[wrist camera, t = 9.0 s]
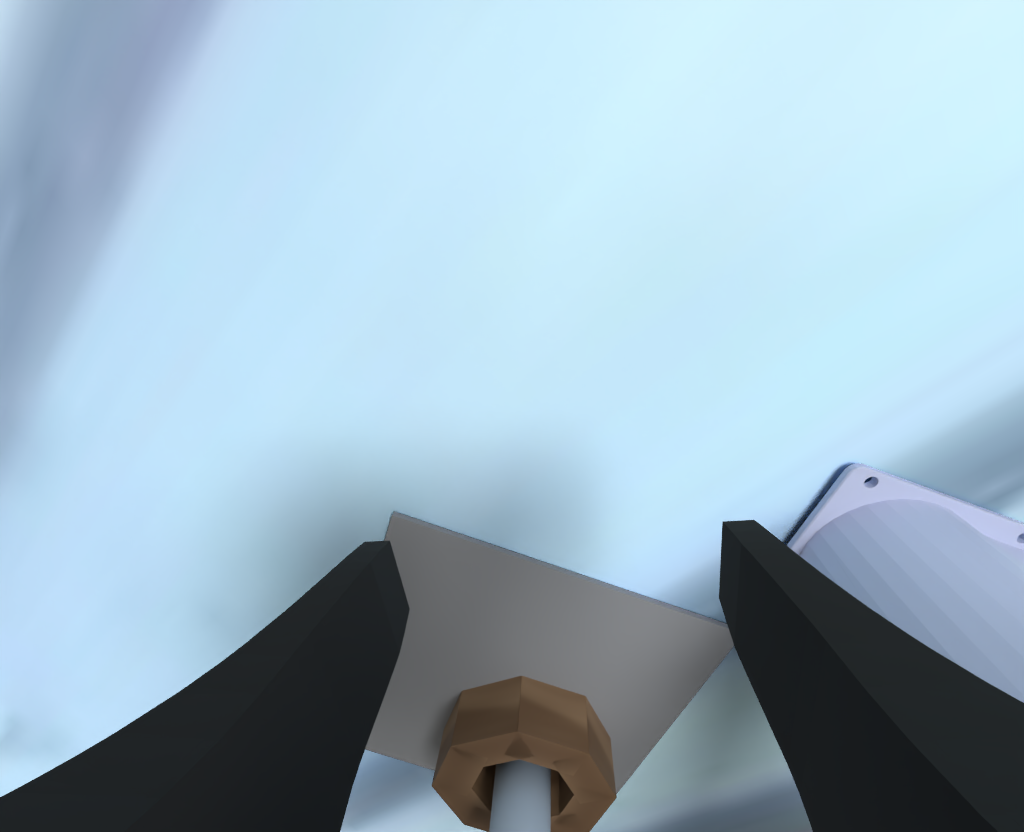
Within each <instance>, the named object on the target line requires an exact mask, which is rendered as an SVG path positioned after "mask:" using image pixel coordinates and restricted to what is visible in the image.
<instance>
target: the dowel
mask: <svg viewBox="0 0 1024 832" xmlns="http://www.w3.org/2000/svg"><path fill="white" fill-rule="evenodd" d="M489 832H551V769H549V768H546V767H543V766H539V765H536V764H533V763H530V762H527V761H523V760H520V759H519V760H514V761H510V762H505V763H500V764H496V770H495V779H494V789H493V799H492V809H491V818H490V828H489Z"/></svg>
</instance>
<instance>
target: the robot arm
mask: <svg viewBox="0 0 1024 832" xmlns="http://www.w3.org/2000/svg"><path fill="white" fill-rule="evenodd" d="M869 477H872V479H871V480H870V481H869V482H866V483H864V482H865V480H866V479H867V478H869ZM719 599H720V602H721V606H722V609H723V612H724V615H725V619H726V622H727V625H728V628H729V631H730V634H731V637H732V640H733V643H734V646H735V649H736V651H737V653H738V655H739V658H740V660H741V662H742V664H743V667H744V669H745V671H746V673H747V676H748V678H749V680H750V682H751V685H752V687H753V689H754V691H755V693H756V696H757V698H758V700H759V702H760V705H761V707H762V709H763V711H764V713H765V716H766V718H767V720H768V722H769V724H770V727H771V729H772V731H773V733H774V735H775V738H776V740H777V742H778V744H779V746H780V749H781V751H782V753H783V755H784V758H785V760H786V762H787V764H788V767H789V769H790V771H791V774H792V776H793V779H794V781H795V784H796V786H797V788H798V791H799V793H800V796H801V799H802V802H803V804H804V807H805V810H806V813H807V816H808V818H809V821H810V824H811V827H812V830H813V832H1024V523H1023V522H1020V521H1017V520H1015V519H1012V518H1009V517H1006V516H1004V515H1001V514H998V513H995V512H993V511H990V510H987V509H985V508H982V507H979V506H976V505H974V504H971V503H968V502H965V501H963V500H960V499H957V498H955V497H952V496H949V495H946V494H944V493H941V492H938V491H935V490H933V489H930V488H927V487H925V486H922V485H919V484H916V483H914V482H911V481H908V480H905V479H903V478H900V477H897V476H895V475H892V474H889V473H886V472H884V471H881V470H878V469H875V468H873V467H870V466H867V465H864V464H860V463H856V464H852V465H850V466H848V467H847V468H846V469H844V471H843V472H842V473H841V475H840V476H839V477H838V479H837V480H836V481H835V482H834V484H833V485H832V486H831V488H830V489H829V490H828V492H827V493H826V494H825V496H824V497H823V498H822V500H821V501H820V502H819V503H818V505H817V506H816V507H815V509H814V510H813V511H812V513H811V514H810V515H809V517H808V518H807V519H806V521H805V522H804V523H803V524H802V526H801V527H800V528H799V530H798V531H797V532H796V534H795V535H794V536H793V538H792V539H791V540H790V542H789V543H788V544H787V545H785V544H784V543H783V542H781V541H780V540H779V539H778V538H776V537H775V536H774V535H773V534H771V533H770V532H769V531H768V530H766V529H765V528H764V527H763V526H761V525H760V524H759V523H757V522H756V521H755V520H745V521H727V522H723V526H722V547H721V568H720V589H719ZM409 610H410V608H409V605H408V601H407V598H406V594H405V591H404V587H403V584H402V580H401V577H400V574H399V570H398V567H397V563H396V560H395V556H394V553H393V549H392V546H391V543H390V541H375V542H364V543H363V544H362V545H360V546H359V547H358V548H357V549H355V550H354V551H353V552H352V553H351V554H349V555H348V556H347V557H346V558H345V559H344V560H343V561H341V562H340V563H339V564H338V565H337V566H336V567H335V568H334V569H332V570H331V571H330V572H329V573H328V574H327V575H326V576H325V577H324V578H322V579H321V580H320V581H319V582H318V583H317V584H316V585H314V586H313V587H312V588H311V589H310V590H309V591H308V592H307V593H305V594H304V595H303V596H302V597H301V598H300V599H299V600H297V601H296V602H295V603H294V604H293V605H292V606H291V607H289V608H288V609H287V610H286V611H285V612H283V613H282V614H281V615H280V616H278V617H277V618H276V619H275V620H274V621H272V622H271V623H270V624H269V625H267V626H266V627H265V628H264V629H263V630H261V631H260V632H259V633H258V634H256V635H255V636H254V637H253V638H252V639H250V640H249V641H248V642H247V643H245V644H244V645H243V646H242V647H240V648H239V649H238V650H236V651H235V652H234V653H233V654H231V655H230V656H229V657H227V658H226V659H225V660H223V661H222V662H221V663H219V664H218V665H217V666H215V667H214V668H212V669H211V670H209V671H208V672H207V673H205V674H204V675H202V676H201V677H200V678H198V679H197V680H195V681H194V682H193V683H191V684H190V685H188V686H187V687H185V688H184V689H183V690H181V691H180V692H178V693H177V694H175V695H174V696H172V697H170V698H169V699H167V700H166V701H164V702H163V703H161V704H160V705H158V706H156V707H155V708H153V709H152V710H150V711H149V712H147V713H145V714H144V715H142V716H141V717H139V718H138V719H136V720H135V721H133V722H131V723H130V724H128V725H127V726H125V727H124V728H122V729H120V730H119V731H117V732H116V733H114V734H112V735H111V736H109V737H107V738H106V739H104V740H102V741H101V742H99V743H97V744H96V745H94V746H92V747H90V748H89V749H87V750H85V751H84V752H82V753H80V754H79V755H77V756H75V757H73V758H72V759H70V760H68V761H66V762H64V763H63V764H61V765H59V766H57V767H55V768H54V769H52V770H50V771H48V772H47V773H45V774H43V775H41V776H39V777H38V778H36V779H34V780H32V781H30V782H28V783H27V784H25V785H23V786H21V787H19V788H17V789H15V790H14V791H12V792H10V793H8V794H6V795H4V796H2V797H0V832H340V830H341V826H342V822H343V819H344V815H345V811H346V807H347V804H348V800H349V796H350V793H351V789H352V786H353V783H354V780H355V777H356V774H357V771H358V767H359V764H360V761H361V759H362V756H363V753H364V750H365V748H366V745H367V742H368V740H369V737H370V734H371V731H372V729H373V726H374V723H375V720H376V718H377V715H378V712H379V710H380V707H381V704H382V701H383V699H384V696H385V693H386V691H387V688H388V685H389V682H390V679H391V677H392V674H393V671H394V668H395V665H396V663H397V660H398V657H399V654H400V650H401V646H402V642H403V638H404V634H405V629H406V624H407V620H408V615H409Z"/></svg>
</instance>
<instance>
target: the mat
mask: <svg viewBox="0 0 1024 832" xmlns="http://www.w3.org/2000/svg"><path fill="white" fill-rule="evenodd" d="M384 541H390V543H391V546H392V549H393V553H394V556H395V560H396V563H397V567H398V570H399V574H400V577H401V580H402V584H403V587H404V591H405V594H406V598H407V601H408V605H409V608H410V610H409V615H408V620H407V624H406V629H405V634H404V638H403V642H402V646H401V650H400V654H399V657H398V660H397V663H396V665H395V668H394V671H393V674H392V677H391V679H390V682H389V685H388V688H387V691H386V693H385V696H384V699H383V701H382V704H381V707H380V710H379V712H378V715H377V718H376V720H375V723H374V726H373V729H372V731H371V734H370V737H369V740H368V742H367V745H366V748H365V749H366V750H369V751H372V752H376V753H379V754H382V755H385V756H389V757H392V758H395V759H399V760H402V761H405V762H408V763H412V764H415V765H418V766H421V767H425V768H428V769H431V770H435V768H436V764H437V759H438V754H439V750H440V745H441V741H442V736H443V731H444V728H445V726H446V724H447V722H448V719H449V717H450V715H451V713H452V711H453V709H454V707H455V704H456V702H457V700H458V698H459V696H460V694H461V691H463V690H467V689H471V688H475V687H479V686H483V685H487V684H491V683H494V682H498V681H502V680H506V679H510V678H514V677H518V676H525V677H528V678H531V679H534V680H537V681H540V682H543V683H546V684H550V685H553V686H556V687H559V688H562V689H565V690H568V691H571V692H574V693H578V694H581V695H584V696H586V697H587V699H588V701H589V703H590V704H591V706H592V708H593V709H594V711H595V713H596V714H597V716H598V718H599V719H600V721H601V723H602V724H603V726H604V728H605V730H606V731H607V733H608V735H609V736H610V739H611V748H612V758H613V768H614V778H615V788H616V794H617V793H618V792H619V790H620V789H621V788H622V787H623V785H624V784H625V783H626V781H627V780H628V779H629V778H630V776H631V775H632V774H633V773H634V771H635V770H636V769H637V768H638V766H639V765H640V764H641V763H642V761H643V760H644V759H645V758H646V756H647V755H648V754H649V753H650V751H651V750H652V749H653V747H654V746H655V745H656V744H657V742H658V741H659V740H660V739H661V737H662V736H663V735H664V734H665V732H666V731H667V730H668V729H669V727H670V726H671V725H672V724H673V722H674V721H675V720H676V718H677V717H678V716H679V715H680V713H681V712H682V711H683V710H684V708H685V707H686V706H687V705H688V703H689V702H690V701H691V700H692V698H693V697H694V696H695V695H696V693H697V692H698V691H699V689H700V688H701V687H702V686H703V684H704V683H705V682H706V681H707V679H708V678H709V677H710V676H711V674H712V673H713V672H714V671H715V669H716V668H717V667H718V666H719V664H720V663H721V662H722V660H723V659H724V658H725V657H726V655H727V654H728V653H729V652H730V650H731V649H732V648H733V647H734V643H733V640H732V637H731V634H730V631H729V628H728V625H727V624H726V623H723V622H720V621H717V620H714V619H711V618H708V617H705V616H702V615H699V614H696V613H693V612H690V611H687V610H685V609H682V608H679V607H676V606H673V605H670V604H667V603H664V602H661V601H658V600H655V599H652V598H649V597H646V596H643V595H640V594H637V593H634V592H631V591H628V590H625V589H622V588H619V587H616V586H613V585H610V584H608V583H605V582H602V581H599V580H596V579H593V578H590V577H587V576H584V575H581V574H578V573H575V572H572V571H569V570H566V569H563V568H560V567H557V566H554V565H551V564H548V563H545V562H542V561H539V560H536V559H534V558H531V557H528V556H525V555H522V554H519V553H516V552H513V551H510V550H507V549H504V548H501V547H498V546H495V545H492V544H489V543H486V542H483V541H480V540H477V539H474V538H471V537H468V536H465V535H462V534H460V533H457V532H454V531H451V530H448V529H445V528H442V527H439V526H436V525H433V524H430V523H427V522H424V521H421V520H418V519H415V518H412V517H409V516H406V515H403V514H400V513H397V512H393V514H392V516H391V520H390V523H389V527H388V530H387V533H386V537H385V540H384Z"/></svg>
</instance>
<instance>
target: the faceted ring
mask: <svg viewBox="0 0 1024 832" xmlns="http://www.w3.org/2000/svg"><path fill="white" fill-rule="evenodd" d="M519 759H520V760H523V761H527V762H530V763H533V764H536V765H539V766H543V767H546V768H549V769H551V832H590V830H591V829H592V828H593V827H594V825H595V824H596V823H597V822H598V820H599V819H600V818H601V817H602V815H603V814H604V813H605V812H606V810H607V809H608V808H609V807H610V805H611V804H612V803H613V801H614V800H615V799H616V788H615V778H614V768H613V758H612V748H611V739H610V736H609V735H608V733H607V731H606V730H605V728H604V726H603V724H602V723H601V721H600V719H599V718H598V716H597V714H596V713H595V711H594V709H593V708H592V706H591V704H590V703H589V701H588V699H587V697H586V696H584V695H581V694H578V693H574V692H571V691H568V690H565V689H562V688H559V687H556V686H553V685H550V684H546V683H543V682H540V681H537V680H534V679H531V678H528V677H525V676H518V677H514V678H510V679H506V680H502V681H498V682H494V683H491V684H487V685H483V686H479V687H475V688H471V689H467V690H463V691H461V694H460V696H459V698H458V700H457V702H456V704H455V707H454V709H453V711H452V713H451V715H450V717H449V719H448V722H447V724H446V726H445V728H444V731H443V736H442V741H441V745H440V750H439V754H438V759H437V764H436V768H435V773H434V778H433V782H432V787H433V788H434V789H435V790H436V792H437V793H438V794H439V795H440V796H441V798H442V799H443V800H444V801H445V802H446V804H447V805H448V806H449V807H450V808H451V810H452V811H453V812H454V813H455V814H456V815H457V817H458V818H459V819H460V820H461V821H462V823H463V824H464V825H467V826H471V827H474V828H477V829H481V830H484V831H487V832H489V828H490V818H491V809H492V799H493V789H494V779H495V770H496V764H500V763H505V762H510V761H514V760H519Z"/></svg>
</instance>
